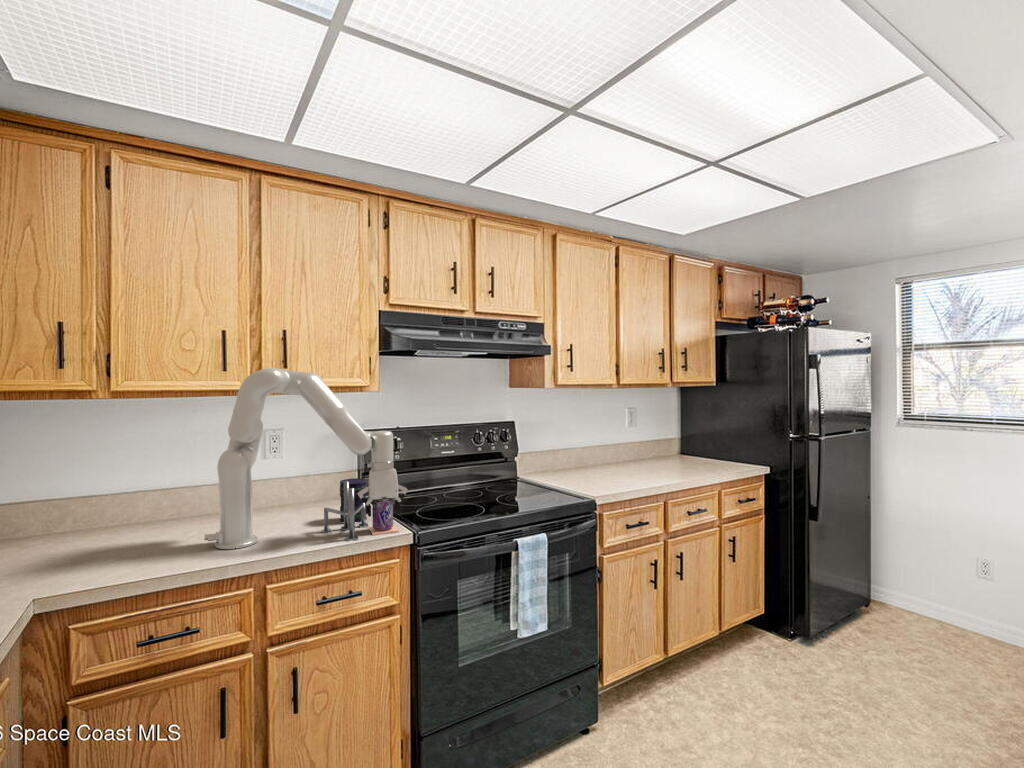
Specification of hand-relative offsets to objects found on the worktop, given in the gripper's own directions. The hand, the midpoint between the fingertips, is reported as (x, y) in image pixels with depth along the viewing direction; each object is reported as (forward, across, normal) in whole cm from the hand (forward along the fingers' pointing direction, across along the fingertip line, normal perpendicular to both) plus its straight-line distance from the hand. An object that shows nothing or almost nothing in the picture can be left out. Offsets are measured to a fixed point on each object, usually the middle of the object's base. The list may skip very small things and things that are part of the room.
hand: (383, 514), depth 188 cm
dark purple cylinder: (+6, -8, +19) cm, 21 cm away
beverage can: (+5, 0, 0) cm, 5 cm away
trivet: (+6, 0, 0) cm, 6 cm away
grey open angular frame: (+6, -12, +1) cm, 13 cm away
